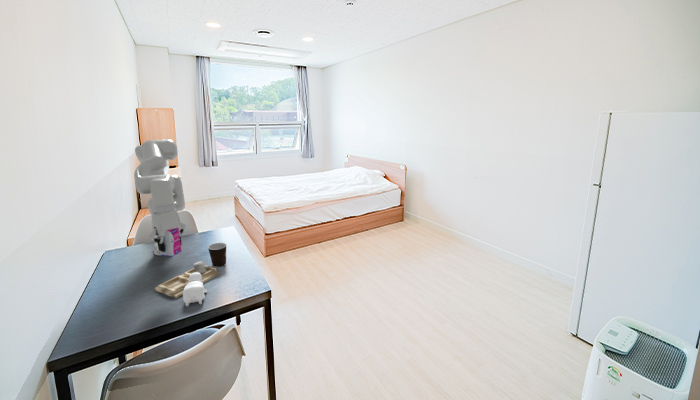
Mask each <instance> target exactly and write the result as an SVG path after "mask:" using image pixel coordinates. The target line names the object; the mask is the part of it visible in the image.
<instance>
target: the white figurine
mask: <svg viewBox="0 0 700 400" xmlns="http://www.w3.org/2000/svg"><path fill="white" fill-rule="evenodd" d="M205 293H206V294H207V293H208V289H207V288H206V287H204V283H202V276H201V274H200V273H198V272H195V273H192V274H190V276H189V283H188V284H187V285H186V286H185V288H184V290H183V295H182V298H183V302H184V304H185V306H186V307H189V306H190V304H191V303H193V304H194V303H197V302H198V303H199V305H202V304H203V302H202V301H203V300H204V299H205Z"/></svg>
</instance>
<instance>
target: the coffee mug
mask: <svg viewBox="0 0 700 400" xmlns="http://www.w3.org/2000/svg"><path fill="white" fill-rule="evenodd" d="M207 250H208V252H209V257H210V260H211V264H212V266H213V267H214V268H220V267H224V266H225V265H226V264H227V244H226V243H225V242H214V243H212V244H210V245H209V246H207Z"/></svg>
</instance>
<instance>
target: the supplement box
mask: <svg viewBox="0 0 700 400" xmlns="http://www.w3.org/2000/svg"><path fill="white" fill-rule="evenodd" d="M163 243H164V244H165V252H161V251H160V253H161V256H160V257H170V258H172V257H174V256H177V254H179V253H181V252H182V245H181V244H182V242H181V243H180V235H179V228H175V229H172V230H169V231H166V236H164V239H163Z"/></svg>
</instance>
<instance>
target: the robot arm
mask: <svg viewBox="0 0 700 400" xmlns="http://www.w3.org/2000/svg"><path fill="white" fill-rule="evenodd" d="M134 152H135V156H136V157H137V160H138V161H139V162H140V163H139V165H138V166H136V169H135V170H134V173H133V177H134V178H133V179H134V184H135V190H136V191H137V193H139V194H141V195H150V196H151V197H150V198H149V199H148V200H147V209H148V211H149V214H150V215H149V216H150V218H151V233H150V234H149V235H148V239H150V240H152V241H153V242H155V243H154V244H153V245H154V247H155V248H156V249H154V251H153V254H154V255H155V256H158V257H162V256H161V253H160V251H161V252H165V244H164V243H163V239H164V236H166V231H169V230H172V229H175V228H179V235H180V243H181V246H182V236H183V233H184V232H185V231H184V230H185V228H186V224H184V223H182V222H181V219H180V216H179V215H180V214H179V213H178V212H181V211H184V210H185V208H186V201H185V195H184V190H183V182H182V179H181V177H180V176H179V175H177V174H168V173H167V174H166V173H165V170H164V169H165V168H166V166H167V161H173V160H176V158H177V156H178V152H179V150H178V146H177V144H176V142H175V141H174V140H172V139H169V138H168V139H151V140H150V139H149V140H146V141H143V143H142V144H141V145H137V146H136V147H135V148H134Z"/></svg>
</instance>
